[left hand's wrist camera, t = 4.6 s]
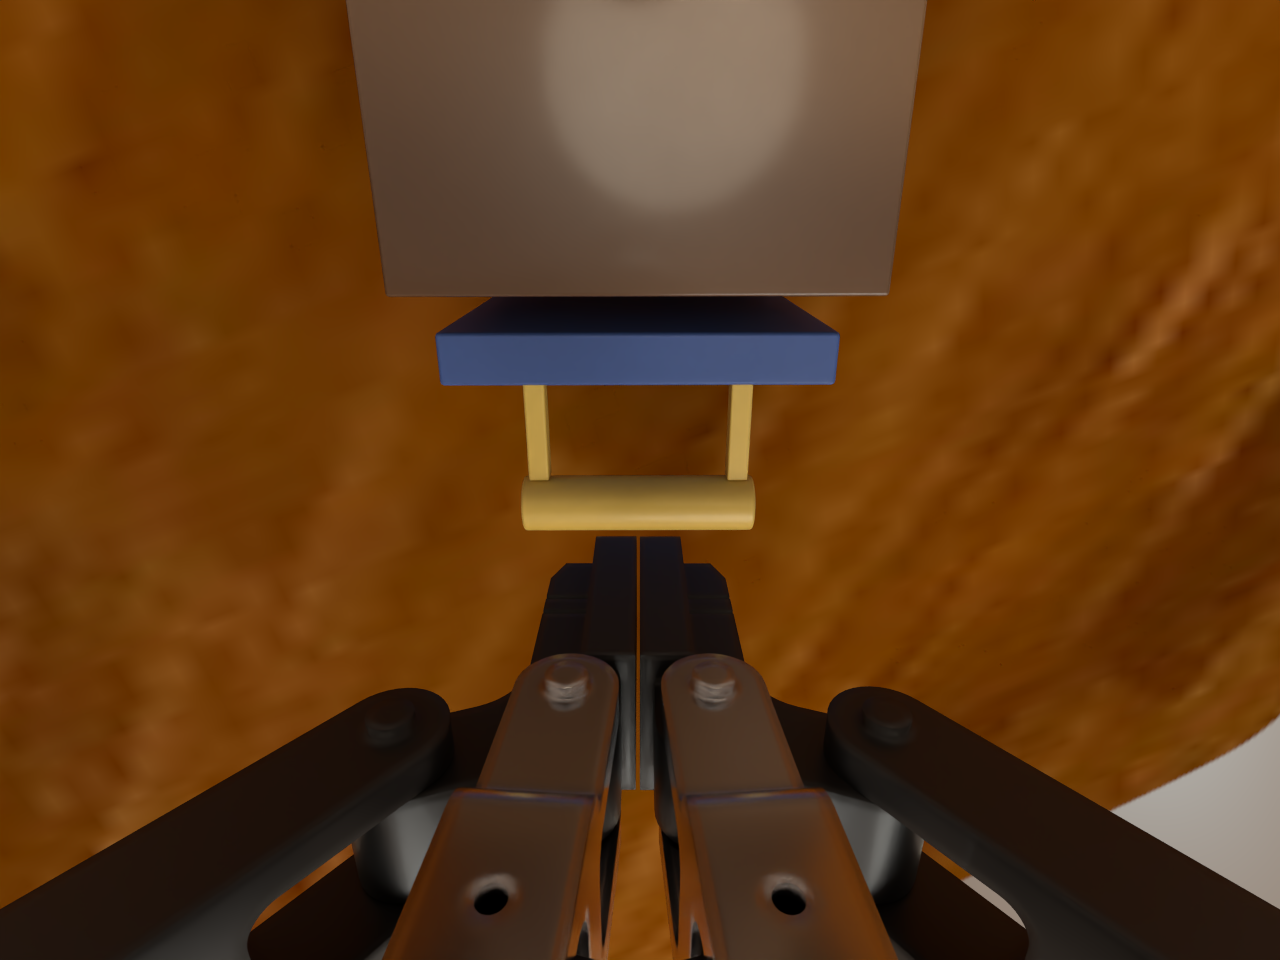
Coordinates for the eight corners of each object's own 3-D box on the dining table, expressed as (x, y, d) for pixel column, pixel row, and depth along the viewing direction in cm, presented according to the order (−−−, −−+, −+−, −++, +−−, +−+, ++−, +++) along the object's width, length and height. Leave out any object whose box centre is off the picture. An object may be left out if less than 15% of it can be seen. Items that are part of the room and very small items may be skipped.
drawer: (760, 471, 25) (814, 588, 18) (515, 472, 25) (462, 589, 18) (822, -433, 17) (981, -979, 9) (449, -432, 17) (285, -979, 9)
